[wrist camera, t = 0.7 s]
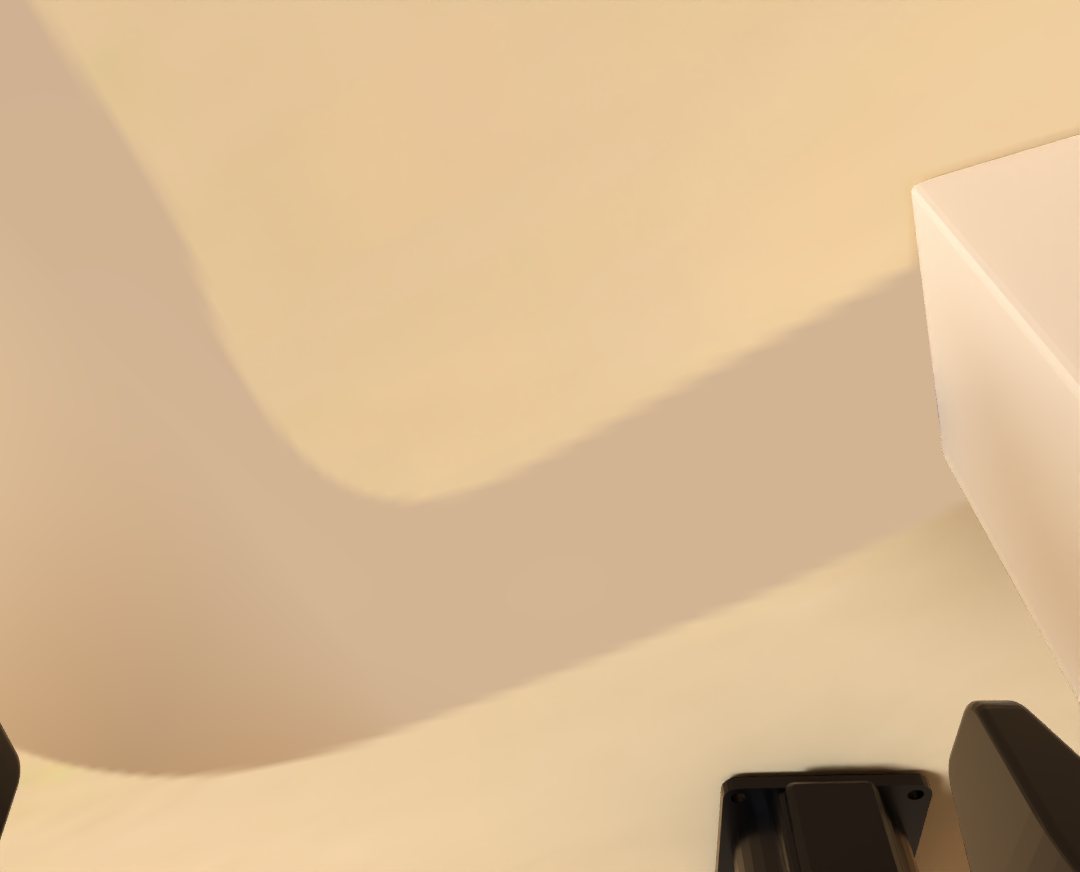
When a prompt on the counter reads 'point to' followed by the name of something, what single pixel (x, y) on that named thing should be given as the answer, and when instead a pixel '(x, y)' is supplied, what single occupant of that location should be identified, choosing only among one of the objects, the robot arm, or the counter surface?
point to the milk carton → (1013, 365)
